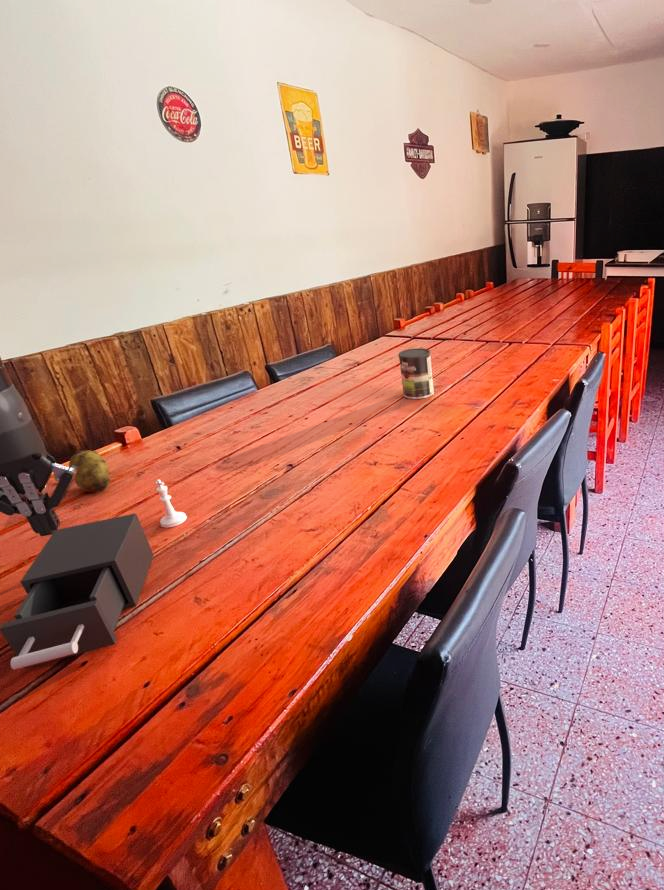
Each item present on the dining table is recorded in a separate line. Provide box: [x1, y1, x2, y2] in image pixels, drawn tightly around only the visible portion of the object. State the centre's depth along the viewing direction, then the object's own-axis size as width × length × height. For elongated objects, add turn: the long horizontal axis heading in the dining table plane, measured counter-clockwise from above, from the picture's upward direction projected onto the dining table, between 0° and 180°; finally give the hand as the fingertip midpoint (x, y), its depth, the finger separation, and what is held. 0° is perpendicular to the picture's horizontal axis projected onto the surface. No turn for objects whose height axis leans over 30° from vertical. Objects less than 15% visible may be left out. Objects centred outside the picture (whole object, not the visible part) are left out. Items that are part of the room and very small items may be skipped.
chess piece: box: [154, 478, 188, 529], centre depth 106 cm, size 5×5×10 cm
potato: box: [68, 449, 111, 493], centre depth 122 cm, size 8×13×8 cm, turn 28°
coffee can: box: [397, 347, 435, 400], centre depth 167 cm, size 10×10×14 cm
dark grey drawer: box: [0, 565, 126, 670], centre depth 77 cm, size 19×11×8 cm, turn 20°
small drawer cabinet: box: [20, 513, 154, 610], centre depth 87 cm, size 15×13×10 cm
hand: (49, 532), depth 74 cm, fingers closed
